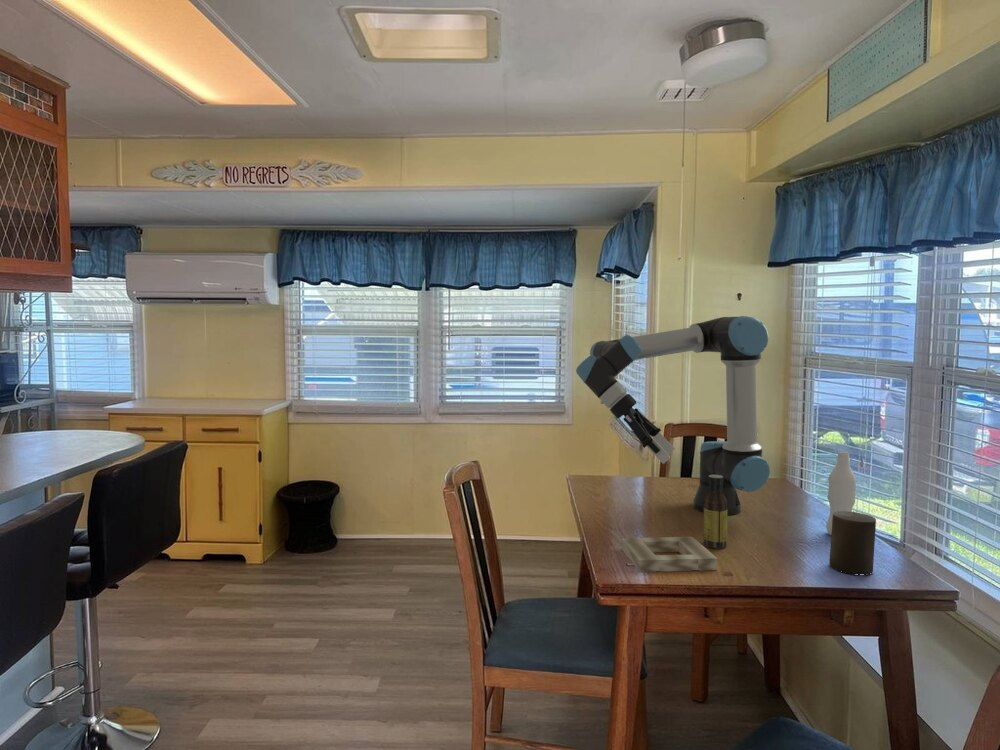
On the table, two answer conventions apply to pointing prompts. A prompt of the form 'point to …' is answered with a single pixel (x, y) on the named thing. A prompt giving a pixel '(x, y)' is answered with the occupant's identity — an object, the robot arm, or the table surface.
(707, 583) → the table surface
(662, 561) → the birch stand
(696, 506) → the robot arm
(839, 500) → the water bottle
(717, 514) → the sauce bottle
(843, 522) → the pillar candle
